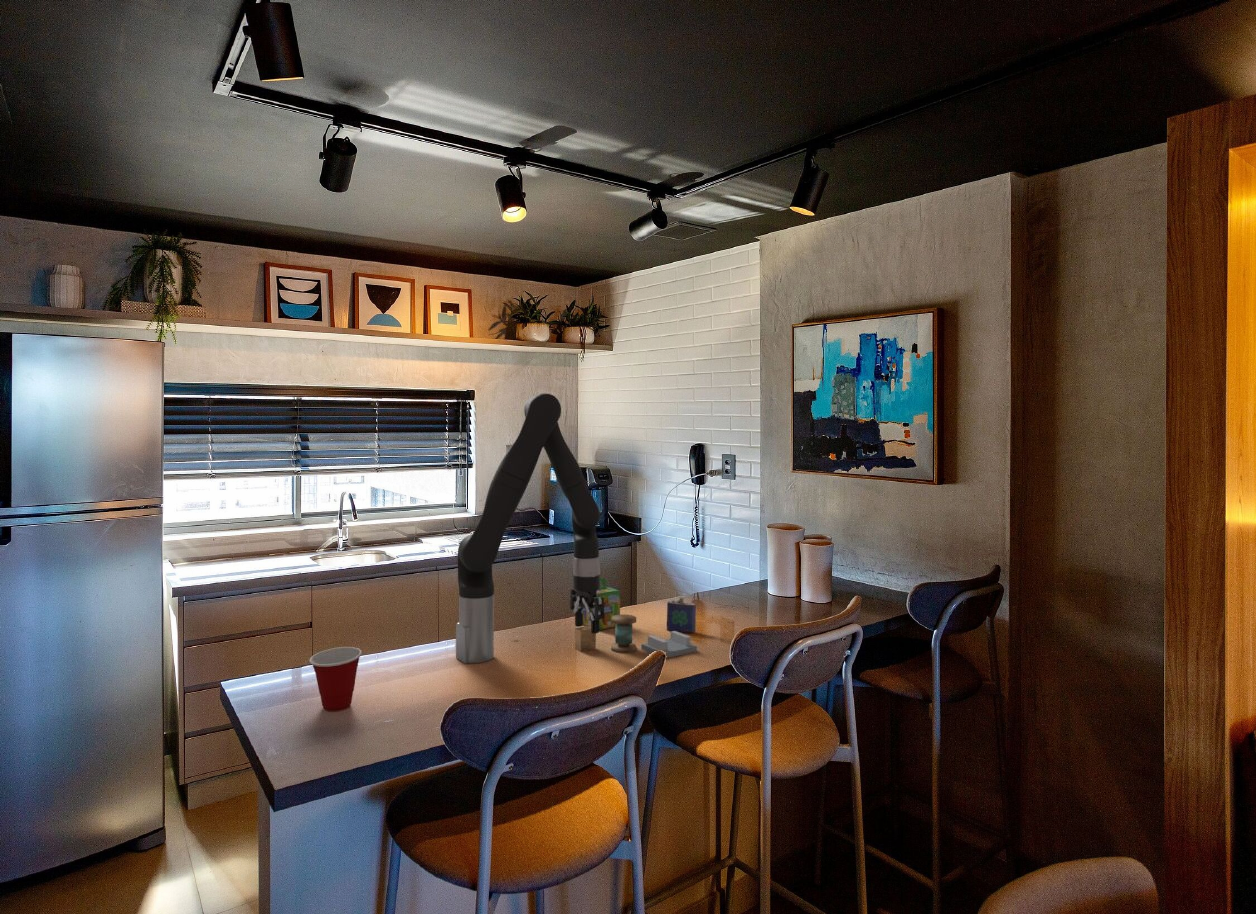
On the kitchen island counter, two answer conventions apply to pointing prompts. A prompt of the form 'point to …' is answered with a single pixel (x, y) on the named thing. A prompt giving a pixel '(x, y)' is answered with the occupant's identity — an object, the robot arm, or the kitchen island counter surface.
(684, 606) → the flask
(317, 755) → the kitchen island counter surface
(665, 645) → the grey ridged tray
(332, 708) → the plastic cup
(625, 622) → the bobbin
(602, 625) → the chalk box
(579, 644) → the brown wooden block
